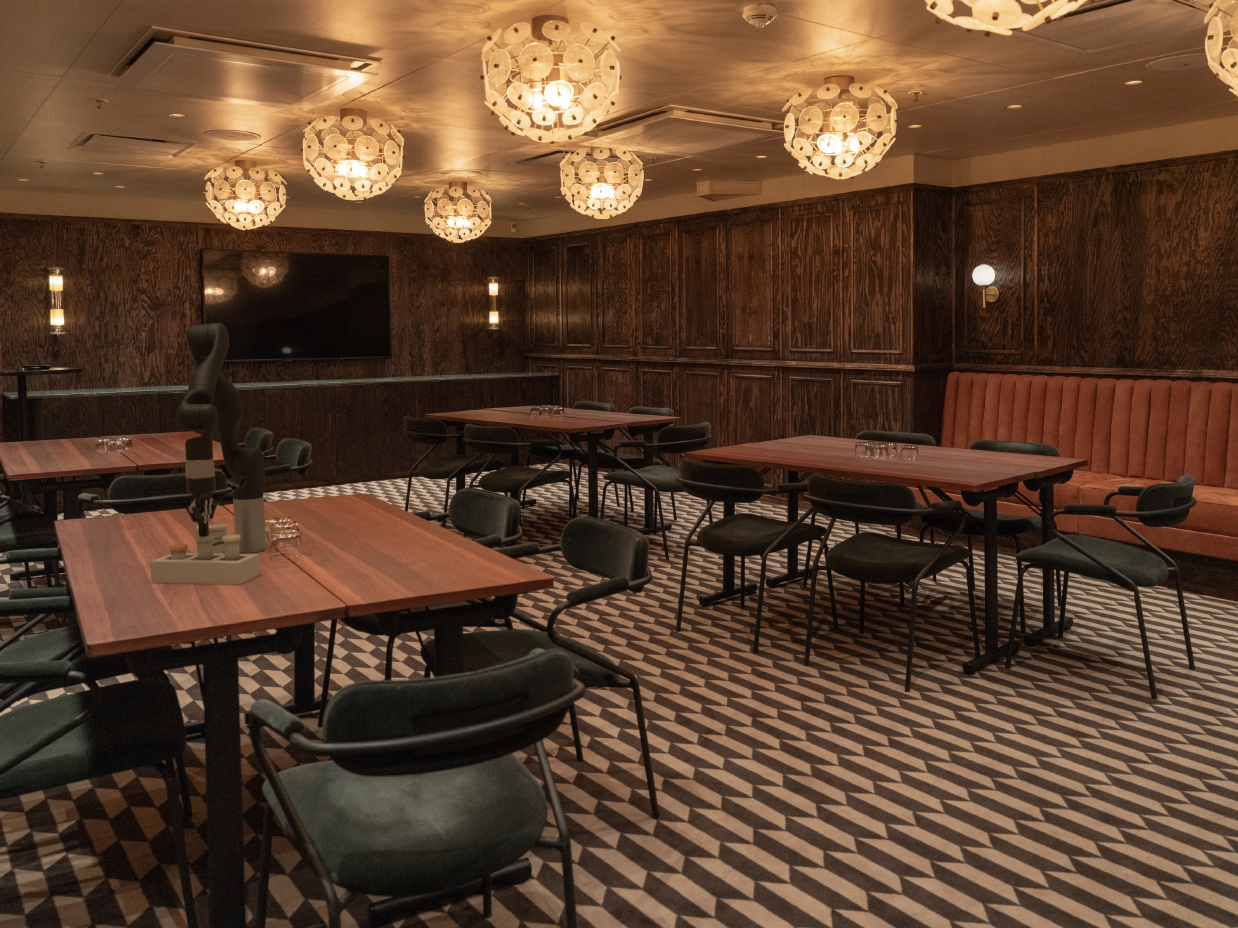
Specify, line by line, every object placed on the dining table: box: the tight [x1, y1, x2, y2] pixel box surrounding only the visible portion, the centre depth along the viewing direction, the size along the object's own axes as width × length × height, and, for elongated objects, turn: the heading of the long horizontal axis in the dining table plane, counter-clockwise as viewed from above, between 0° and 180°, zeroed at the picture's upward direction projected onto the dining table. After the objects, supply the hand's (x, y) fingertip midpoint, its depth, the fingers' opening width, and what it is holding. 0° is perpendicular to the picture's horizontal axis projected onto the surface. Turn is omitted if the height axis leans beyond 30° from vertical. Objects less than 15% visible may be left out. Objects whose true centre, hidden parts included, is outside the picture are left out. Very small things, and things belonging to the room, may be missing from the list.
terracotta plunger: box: [168, 543, 189, 560], centre depth 279 cm, size 5×5×8 cm
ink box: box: [195, 523, 228, 553], centre depth 297 cm, size 9×5×12 cm, turn 114°
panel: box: [149, 552, 261, 586], centre depth 278 cm, size 12×26×6 cm, turn 84°
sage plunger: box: [194, 534, 214, 560], centre depth 278 cm, size 5×5×8 cm
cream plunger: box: [222, 533, 241, 561], centre depth 277 cm, size 5×5×8 cm
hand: (204, 536), depth 277 cm, fingers closed
